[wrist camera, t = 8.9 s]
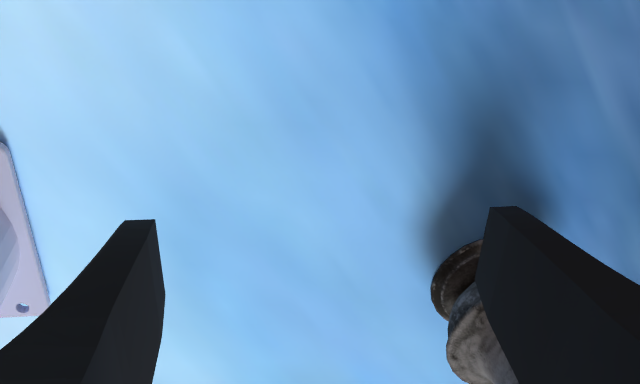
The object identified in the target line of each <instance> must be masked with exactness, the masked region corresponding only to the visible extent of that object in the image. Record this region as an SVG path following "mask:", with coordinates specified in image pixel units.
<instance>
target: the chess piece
mask: <svg viewBox="0 0 640 384" xmlns="http://www.w3.org/2000/svg"><path fill="white" fill-rule="evenodd" d="M482 242H483V239H482V240H478V241H476V242H473V243H471V244H468V245H466V246H464V247H462V248H461V249H459V250H458V251H456V252H455V253H453V254H452V255H451V256H450V257H449V258H448V259H447V260H446V261H445V262H444V263H443V264H442V265H441V266H440V268H439V269H438V271H437V273H436V274H435V276H434V279H433V282H432V286H431V299H432V302H433V304H434V306H435V309H436V311H437V312H438V313H439V314H440V315H441V316H442V317H443V318H444V319H445V320H447V321H449V324H448V341H447V344H446V354H447V360H448V363H449V365H450V367H451V369H452V371H453V372H454V373H455V374H456V375H457V376H458V377H459V378H460V379H461V380H463V381H465V382H467V383H469V384H519V382H518V380H517V378H516V376H515V374H514V372H513V370H512V368H511V366H510V364H509V362H508V360H507V358H506V356H505V354H504V352H503V350H502V348H501V346H500V344H499V342H498V340H497V338H496V336H495V334H494V332H493V330H492V328H491V325H490V323H489V321H488V319H487V316H486V313H485V311H484V308H483V305H482V302H481V299H480V295H479V292H478V289H477V286H476V282H475V275H476V270H477V265H478V261H479V256H480V252H481V247H482Z"/></svg>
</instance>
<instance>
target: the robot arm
mask: <svg viewBox="0 0 640 384" xmlns="http://www.w3.org/2000/svg"><path fill="white" fill-rule="evenodd" d="M475 282H476V286H477V289H478V292H479V295H480V299H481V302H482V305H483V308H484V311H485V313H486V316H487V319H488V321H489V323H490V325H491V328H492V330H493V332H494V334H495V336H496V338H497V340H498V342H499V344H500V346H501V348H502V350H503V352H504V354H505V356H506V358H507V360H508V362H509V364H510V366H511V368H512V370H513V372H514V374H515V376H516V378H517V380H518V382H519V384H640V285H638V284H636V283H635V282H633V281H631V280H630V279H628V278H626V277H625V276H623V275H621V274H620V273H618V272H616V271H615V270H613V269H611V268H610V267H608V266H607V265H605V264H603V263H602V262H600V261H599V260H597V259H596V258H594V257H593V256H591V255H590V254H588V253H586V252H585V251H584V250H582V249H581V248H579V247H578V246H576V245H575V244H573V243H572V242H570V241H569V240H567V239H566V238H564V237H563V236H561V235H560V234H559V233H557V232H556V231H554V230H553V229H551V228H550V227H548V226H547V225H545V224H544V223H542V222H541V221H540V220H538V219H537V218H535V217H534V216H532V215H531V214H529V213H527V212H526V211H524V210H522V209H521V208H519V207H517V206H508V207H490V210H489V214H488V219H487V224H486V228H485V233H484V238H483V242H482V247H481V252H480V256H479V261H478V265H477V270H476V275H475ZM20 303H23V304H26V305H28V306H22V305H21V304H20ZM164 305H165V289H164V281H163V274H162V267H161V259H160V252H159V245H158V237H157V230H156V223H155V219H152V220H125V221H124V222H123V223H122V224H121V225H120V226H119V227H118V228H117V230H116V231H115V232H114V233H113V235H112V236H111V237H110V238H109V240H108V241H107V242H106V243H105V245H104V246H103V247H102V248H101V250H100V251H99V252H98V253H97V254H96V256H95V257H94V258H93V259H92V260H91V262H90V263H89V264H88V265H87V266H86V267H85V268H84V270H83V271H82V272H81V273H80V274H79V275H78V276H77V278H76V279H75V280H74V281H73V282H72V283H71V284H70V285H69V286H68V288H67V289H66V290H65V291H64V292H63V293H62V294H61V295H60V296H59V297H58V298H57V299H56V300H55V301H54V302H53V303H52V304H51V305H50V298H49V295H48V291H47V287H46V283H45V280H44V276H43V272H42V269H41V265H40V261H39V258H38V254H37V250H36V247H35V243H34V239H33V236H32V232H31V228H30V224H29V221H28V217H27V213H26V210H25V206H24V202H23V199H22V195H21V191H20V188H19V184H18V180H17V176H16V173H15V169H14V165H13V162H12V158H11V154H10V151H9V149H8V147H7V146H5V145H4V144H3V143H1V142H0V318H4V317H23V316H39V315H40V316H39V317H38V318H37V319H36V320H35V321H33V322H32V323H31V324H30V325H29V326H28V327H27V328H26V329H25V330H24V331H22V332H21V333H20V334H19V335H18V336H16V337H15V338H14V339H13V340H12V341H11V342H9V343H8V344H7V345H6V346H4V347H3V348H2V349H1V350H0V384H152V381H153V376H154V371H155V367H156V362H157V357H158V353H159V348H160V343H161V338H162V329H163V318H164Z"/></svg>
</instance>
